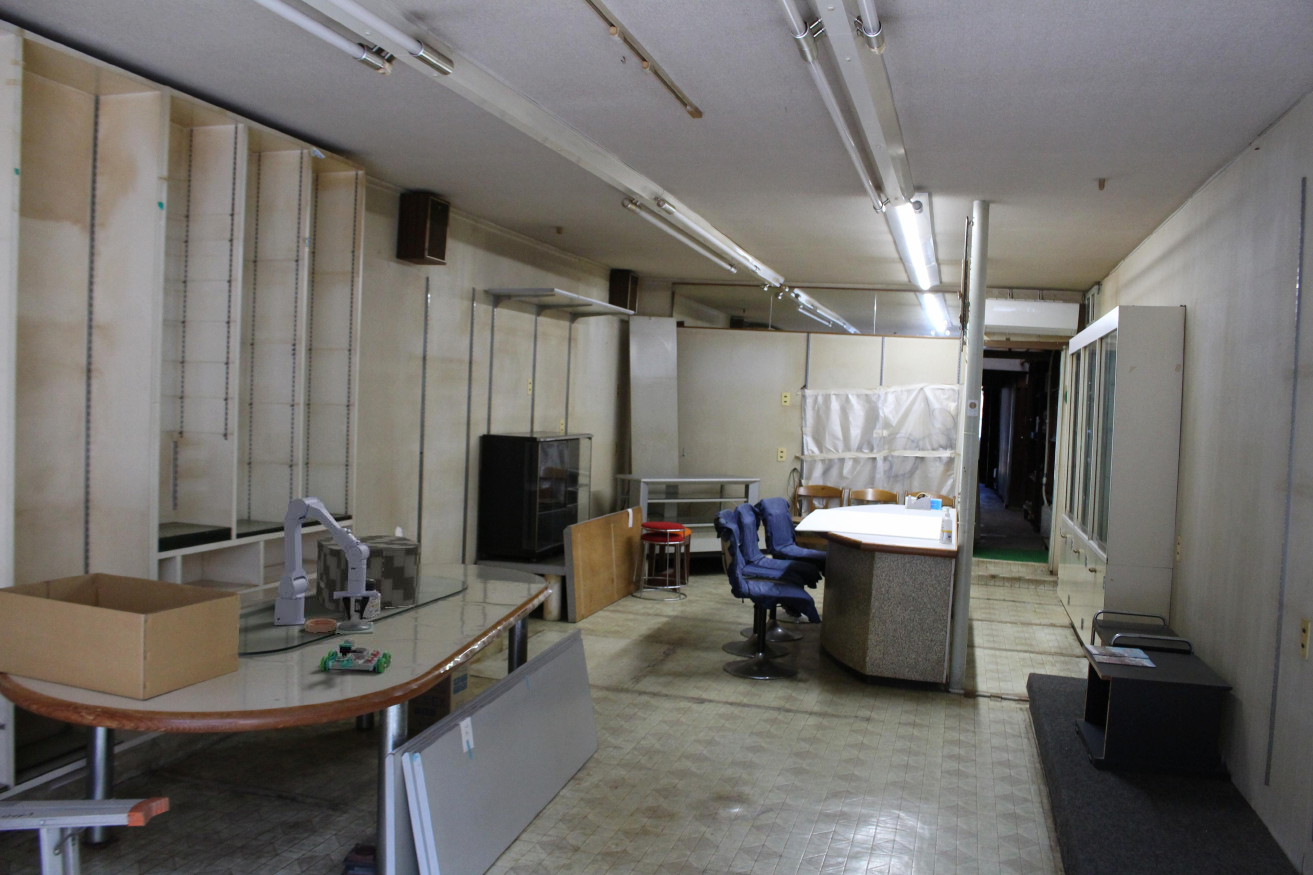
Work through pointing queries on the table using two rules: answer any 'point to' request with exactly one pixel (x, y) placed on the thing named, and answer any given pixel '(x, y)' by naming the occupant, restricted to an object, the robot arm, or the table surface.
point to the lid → (355, 624)
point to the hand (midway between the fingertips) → (355, 618)
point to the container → (372, 605)
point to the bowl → (320, 625)
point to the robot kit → (355, 658)
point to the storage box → (370, 570)
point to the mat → (354, 631)
